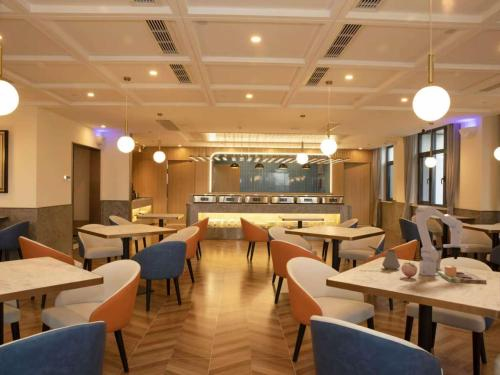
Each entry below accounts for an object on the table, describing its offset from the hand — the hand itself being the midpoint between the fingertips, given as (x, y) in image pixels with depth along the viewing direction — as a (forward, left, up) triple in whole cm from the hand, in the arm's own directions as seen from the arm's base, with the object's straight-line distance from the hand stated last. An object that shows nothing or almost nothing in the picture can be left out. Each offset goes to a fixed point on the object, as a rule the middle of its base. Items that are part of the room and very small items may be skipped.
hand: (455, 258), depth 260 cm
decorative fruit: (-33, -21, -10) cm, 40 cm away
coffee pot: (-44, +6, -10) cm, 45 cm away
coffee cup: (-8, +16, -10) cm, 20 cm away
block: (-8, -16, -7) cm, 19 cm away
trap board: (-2, -16, -9) cm, 19 cm away
